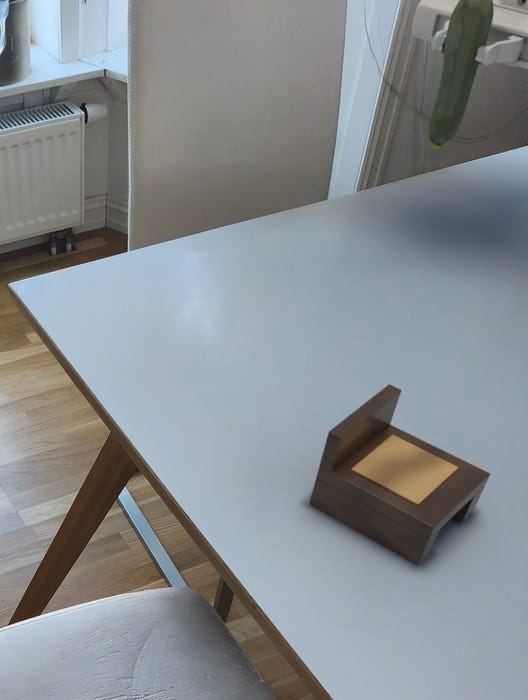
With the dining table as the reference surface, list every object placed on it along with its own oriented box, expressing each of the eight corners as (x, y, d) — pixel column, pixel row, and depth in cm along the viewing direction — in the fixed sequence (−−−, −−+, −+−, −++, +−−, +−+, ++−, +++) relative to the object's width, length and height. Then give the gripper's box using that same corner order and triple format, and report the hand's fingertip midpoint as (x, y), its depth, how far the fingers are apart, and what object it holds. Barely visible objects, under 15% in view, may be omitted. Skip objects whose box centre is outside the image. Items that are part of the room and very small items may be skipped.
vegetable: (458, 157, 106) (520, -48, 90) (422, 160, 106) (479, -45, 90) (445, 142, 108) (503, -60, 93) (410, 145, 108) (462, -57, 93)
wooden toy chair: (472, 513, 85) (507, 438, 78) (417, 567, 81) (448, 493, 74) (365, 457, 91) (389, 383, 84) (308, 505, 87) (328, 431, 80)
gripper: (462, -31, 106) (390, -4, 101) (625, 6, 96) (554, 38, 91) (445, 30, 111) (376, 58, 106) (599, 71, 101) (530, 105, 95)
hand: (459, 49), depth 98 cm, fingers closed on vegetable, 4 cm apart
